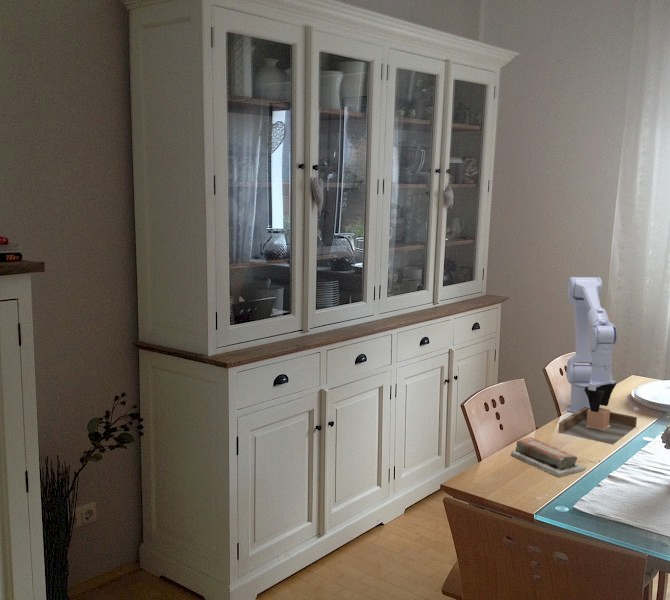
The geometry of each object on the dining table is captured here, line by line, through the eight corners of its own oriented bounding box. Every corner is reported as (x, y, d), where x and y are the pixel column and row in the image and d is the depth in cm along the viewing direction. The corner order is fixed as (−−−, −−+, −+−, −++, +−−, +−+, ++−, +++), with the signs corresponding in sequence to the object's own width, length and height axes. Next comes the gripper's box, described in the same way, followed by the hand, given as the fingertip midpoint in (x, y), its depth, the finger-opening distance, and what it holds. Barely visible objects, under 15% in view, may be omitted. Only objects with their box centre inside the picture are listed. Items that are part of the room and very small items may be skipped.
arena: (584, 419, 232) (584, 406, 231) (636, 429, 222) (636, 417, 221) (558, 435, 217) (559, 422, 216) (612, 447, 206) (613, 434, 206)
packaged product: (510, 439, 200) (536, 434, 205) (509, 456, 201) (536, 450, 206) (559, 461, 185) (587, 454, 190) (558, 479, 186) (586, 472, 190)
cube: (592, 422, 225) (593, 406, 225) (609, 425, 222) (610, 409, 221) (586, 426, 222) (587, 410, 221) (603, 429, 218) (604, 413, 218)
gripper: (606, 371, 211) (603, 417, 213) (623, 362, 222) (620, 405, 224) (582, 367, 215) (580, 412, 217) (600, 358, 226) (597, 400, 228)
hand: (599, 408), depth 221 cm, fingers open, 7 cm apart
